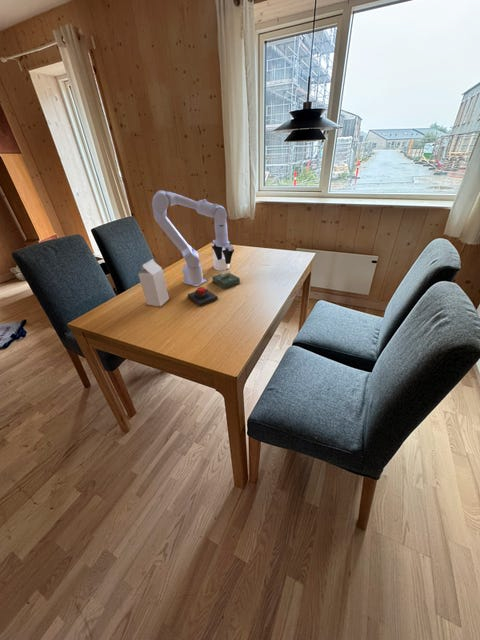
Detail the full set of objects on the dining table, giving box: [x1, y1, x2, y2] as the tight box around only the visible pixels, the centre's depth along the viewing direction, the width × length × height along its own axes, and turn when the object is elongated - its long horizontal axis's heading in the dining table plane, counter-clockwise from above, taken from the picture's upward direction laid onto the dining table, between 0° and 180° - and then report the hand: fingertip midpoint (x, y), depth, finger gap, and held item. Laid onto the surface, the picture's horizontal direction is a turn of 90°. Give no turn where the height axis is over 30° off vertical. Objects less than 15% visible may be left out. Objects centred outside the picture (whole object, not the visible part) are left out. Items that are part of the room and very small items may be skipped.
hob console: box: [211, 272, 241, 290], centre depth 131 cm, size 11×9×3 cm
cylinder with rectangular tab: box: [211, 244, 231, 271], centre depth 146 cm, size 9×9×12 cm
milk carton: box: [137, 258, 170, 307], centre depth 114 cm, size 7×7×19 cm
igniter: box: [187, 288, 218, 307], centre depth 118 cm, size 11×9×4 cm
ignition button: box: [196, 286, 206, 294], centre depth 117 cm, size 4×4×2 cm
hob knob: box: [219, 268, 231, 279], centre depth 129 cm, size 5×2×4 cm, turn 127°
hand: (223, 261), depth 131 cm, fingers open, 7 cm apart
